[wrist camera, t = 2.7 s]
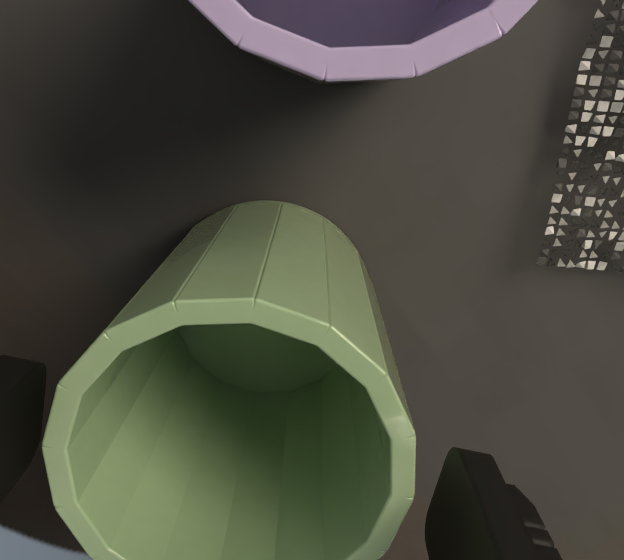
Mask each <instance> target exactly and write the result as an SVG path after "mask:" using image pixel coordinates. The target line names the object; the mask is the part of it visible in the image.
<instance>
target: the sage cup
mask: <svg viewBox="0 0 624 560" xmlns="http://www.w3.org/2000/svg"><path fill="white" fill-rule="evenodd" d="M42 453H43V458H44V462H45V467H46V472H47V477H48V481H49V486H50V491H51V495H52V500H53V505H54V506H55V510H56V511H57V513H58V514H59V515H60V517H61V518H62V520H63V521H64V522H65V524H66V525H67V527H68V528H69V529H70V531H71V532H72V534H73V535H74V536H75V538H76V539H77V541H78V542H79V543H80V545H81V546H82V547H83V549H84V550H85V552H86V553H87V554H88V556H89V557H90V558H91V559H93V560H378V559H379V558H380V557H382V556H383V555H384V554H385V552H386V551H387V550H388V548H389V546H390V544H391V543H392V541H393V539H394V537H395V535H396V533H397V531H398V529H399V527H400V525H401V523H402V521H403V519H404V517H405V515H406V513H407V511H408V510H409V508H410V506H411V504H412V502H413V500H414V495H415V468H416V435H415V430H414V426H413V423H412V420H411V416H410V413H409V409H408V406H407V402H406V399H405V395H404V392H403V388H402V385H401V381H400V378H399V374H398V371H397V367H396V364H395V360H394V357H393V353H392V350H391V346H390V343H389V339H388V336H387V332H386V329H385V325H384V322H383V318H382V315H381V311H380V308H379V304H378V301H377V298H376V294H375V291H374V287H373V284H372V282H371V280H370V277H369V275H368V273H367V270H366V267H365V264H364V262H363V260H362V258H361V256H360V254H359V252H358V251H357V249H356V248H355V246H354V245H353V244H352V242H351V241H350V239H349V238H348V237H347V236H346V235H345V234H344V233H343V232H342V231H341V230H340V229H339V228H338V227H337V226H335V225H334V224H333V223H332V222H330V221H329V220H328V219H326V218H324V217H323V216H321V215H319V214H318V213H316V212H314V211H311V210H309V209H307V208H305V207H302V206H298V205H295V204H292V203H287V202H280V201H268V200H259V201H249V202H244V203H239V204H235V205H232V206H229V207H227V208H224V209H221V210H219V211H217V212H215V213H214V214H212V215H210V216H208V217H207V218H205V219H204V220H203V221H201V222H199V223H198V224H196V225H195V226H194V227H193V228H192V229H191V230H190V232H189V233H188V234H187V235H186V236H185V237H184V238H183V239H182V241H181V242H180V243H179V244H178V245H177V246H176V247H175V249H174V250H173V251H172V252H171V253H170V254H169V255H168V256H167V258H166V259H165V260H164V261H163V262H162V263H161V264H160V266H159V267H158V268H157V269H156V270H155V271H154V273H153V274H152V275H151V276H150V277H149V278H148V279H147V281H146V282H145V283H144V284H143V285H142V286H141V287H140V289H139V290H138V291H137V292H136V293H135V294H134V295H133V297H132V298H131V299H130V300H129V301H128V302H127V303H126V305H125V306H124V307H123V308H122V309H121V310H120V312H119V313H118V314H117V315H116V316H115V317H114V318H113V320H112V321H111V322H110V323H109V324H108V325H107V326H106V328H105V329H104V330H103V331H102V332H101V333H100V334H99V336H98V337H97V338H96V339H95V340H94V341H93V342H92V344H91V345H90V346H89V347H88V348H87V349H86V350H85V352H84V353H83V354H82V355H81V356H80V357H79V359H78V360H77V361H76V362H75V363H74V364H73V365H72V367H71V368H70V369H69V370H68V371H67V372H66V373H65V375H64V376H63V377H62V378H61V379H60V380H59V383H58V385H57V386H56V390H55V394H54V398H53V402H52V405H51V409H50V413H49V417H48V421H47V424H46V428H45V432H44V436H43V440H42Z"/></svg>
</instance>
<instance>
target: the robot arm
mask: <svg viewBox="0 0 624 560" xmlns="http://www.w3.org/2000/svg"><path fill="white" fill-rule="evenodd" d="M45 384H46V367H45V365H44V363H41V362H36V361H31V360H26V359H21V358H16V357H11V356H6V355H2V356H0V502H1V501H2V500H3V499H4V497H5V496H6V495H7V493H8V492H9V491H10V490H11V488H12V487H13V486H14V484H15V483H16V482H17V481H18V479H19V478H20V477H21V475H22V474H23V473H24V472H25V470H26V469H27V468H28V466H29V465H30V463H31V461H32V459H33V457H34V455H35V453H36V450H37V448H38V444H39V441H40V436H41V428H42V417H43V406H44V395H45ZM425 542H426V547H427V551H428V556H429V560H562V558H561V556H560V554H559V552H558V550H557V549H556V548H554V543H553V541H552V539H551V537H550V535H549V533H548V531H547V530H545V525H544V523H543V522H542V520H541V518H540V516H539V514H538V512H537V510H536V508H535V506H534V505H533V504H532V503H531V502H530V501H529V500H528V499H527V498H526V497H525V496H524V495H523V493H522V492H521V491H520V490H519V489H518V488H517V487H516V486H515V485H510V484H506V483H505V481H504V479H503V477H502V475H501V473H500V471H499V468H498V466H497V464H496V462H495V460H494V458H493V457H492V456H491V455H490V454H486V453H481V452H476V451H471V450H466V449H461V448H456V447H453V448H451V449H450V451H449V452H448V454H447V456H446V459H445V462H444V465H443V468H442V471H441V474H440V476H439V479H438V482H437V485H436V488H435V491H434V494H433V497H432V500H431V503H430V506H429V509H428V512H427V517H426V523H425Z"/></svg>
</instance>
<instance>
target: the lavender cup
mask: <svg viewBox="0 0 624 560" xmlns="http://www.w3.org/2000/svg"><path fill="white" fill-rule="evenodd" d="M188 1H189V2H190V3H191V4H192V5H193V6H194V7H195V8H196V9H197V10H198V11H199V12H200V13H201V14H202V15H203V16H204V17H205V18H206V19H208V20H209V21H210V22H211V23H212V24H213V25H214V26H215V27H216V28H217V29H218V30H219V31H220V32H221V33H222V34H223V35H224V36H225V37H226V38H227V39H228V40H229V41H230V42H231V43H232V44H233V45H235V46H237V47H239V48H240V49H241V50H243V51H246V52H248V53H250V54H252V55H254V56H256V57H258V58H260V59H262V60H264V61H266V62H268V63H270V64H272V65H274V66H276V67H278V68H281V69H283V70H286V71H288V72H291V73H294V74H296V75H298V76H301V77H304V78H306V79H309V80H311V81H314V82H316V83H321V84H332V83H358V82H375V81H387V80H399V79H412V78H414V77H420V76H422V75H424V74H426V73H428V72H430V71H432V70H434V69H437V68H439V67H441V66H443V65H445V64H447V63H449V62H451V61H454V60H456V59H458V58H460V57H462V56H464V55H466V54H468V53H470V52H473V51H475V50H477V49H479V48H481V47H483V46H485V45H487V44H490V43H492V42H494V41H496V40H498V39H500V38H501V37H502V35H505V34H507V33H508V32H509V31H510V30H511V29H512V28H513V27H514V25H515V24H516V23H517V22H518V21H519V20H520V19H521V18H522V17H523V16H524V15H525V14H526V13H527V12H528V11H529V10H530V9H531V8H532V7H533V6H534V5H535V4H536V3H537V1H538V0H188Z"/></svg>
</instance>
